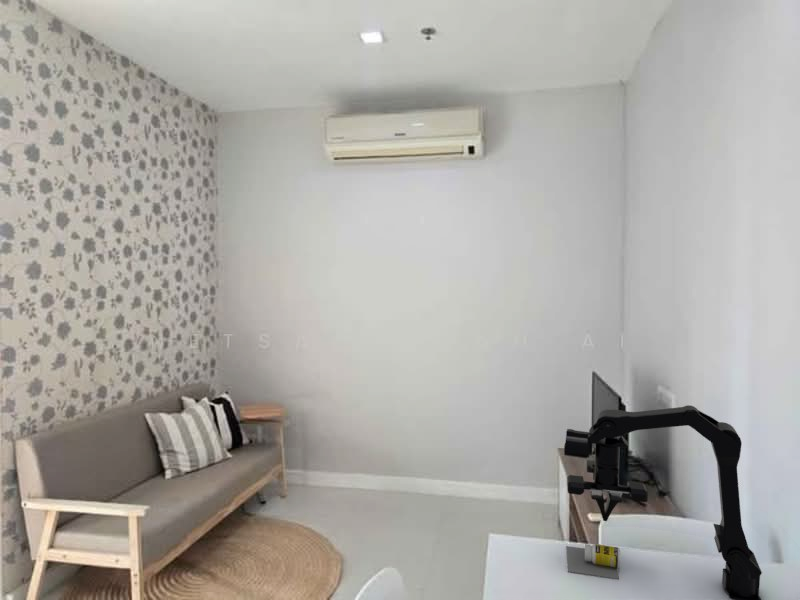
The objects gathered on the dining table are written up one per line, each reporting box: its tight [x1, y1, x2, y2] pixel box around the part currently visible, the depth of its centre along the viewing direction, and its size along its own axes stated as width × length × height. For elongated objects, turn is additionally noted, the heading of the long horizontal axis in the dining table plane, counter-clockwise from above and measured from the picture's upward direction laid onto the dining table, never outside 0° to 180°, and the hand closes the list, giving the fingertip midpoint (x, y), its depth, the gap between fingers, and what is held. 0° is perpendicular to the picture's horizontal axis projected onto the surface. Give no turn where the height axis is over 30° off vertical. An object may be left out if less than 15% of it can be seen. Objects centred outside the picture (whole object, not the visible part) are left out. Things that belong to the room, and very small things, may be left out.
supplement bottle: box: [584, 543, 621, 569], centre depth 138 cm, size 5×5×8 cm
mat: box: [565, 545, 620, 581], centre depth 139 cm, size 12×12×1 cm
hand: (604, 520), depth 137 cm, fingers closed
